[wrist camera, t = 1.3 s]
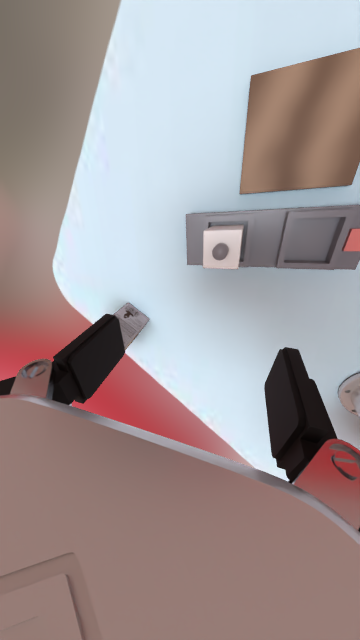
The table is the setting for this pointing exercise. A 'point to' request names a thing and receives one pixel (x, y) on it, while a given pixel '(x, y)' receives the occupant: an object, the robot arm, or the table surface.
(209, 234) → the plug
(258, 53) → the table surface
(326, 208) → the power strip
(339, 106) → the walnut mat
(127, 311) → the coffee box
